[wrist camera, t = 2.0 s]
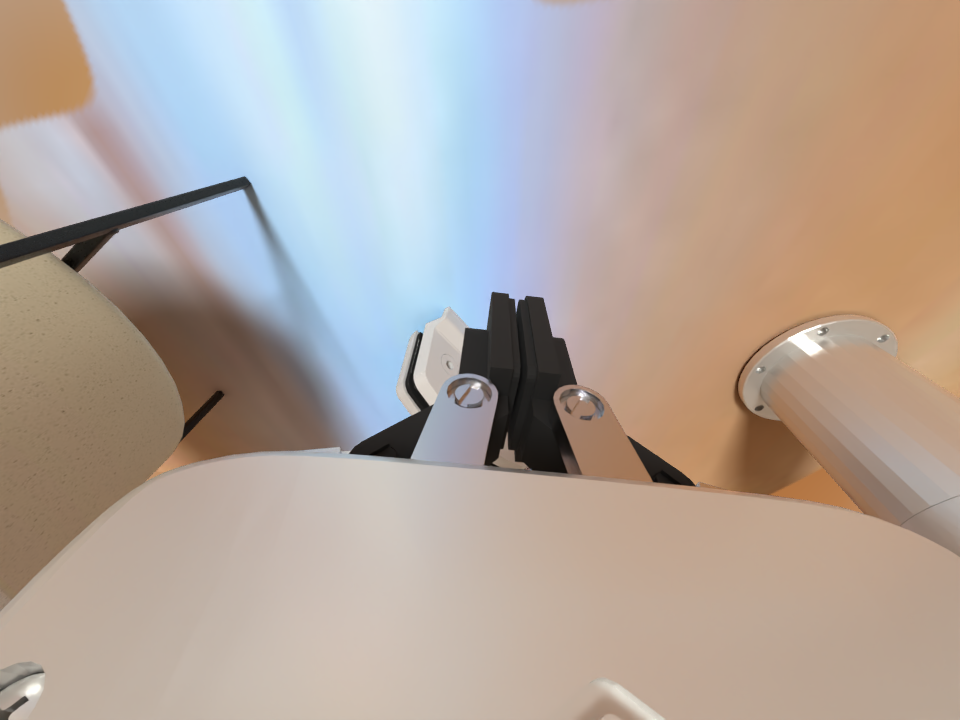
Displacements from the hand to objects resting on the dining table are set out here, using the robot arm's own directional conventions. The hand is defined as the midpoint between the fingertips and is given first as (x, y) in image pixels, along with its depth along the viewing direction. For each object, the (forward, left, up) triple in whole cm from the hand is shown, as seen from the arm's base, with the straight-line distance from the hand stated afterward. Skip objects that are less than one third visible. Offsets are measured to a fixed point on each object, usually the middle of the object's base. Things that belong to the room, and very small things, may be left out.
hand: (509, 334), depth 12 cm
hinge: (0, +17, -19) cm, 25 cm away
